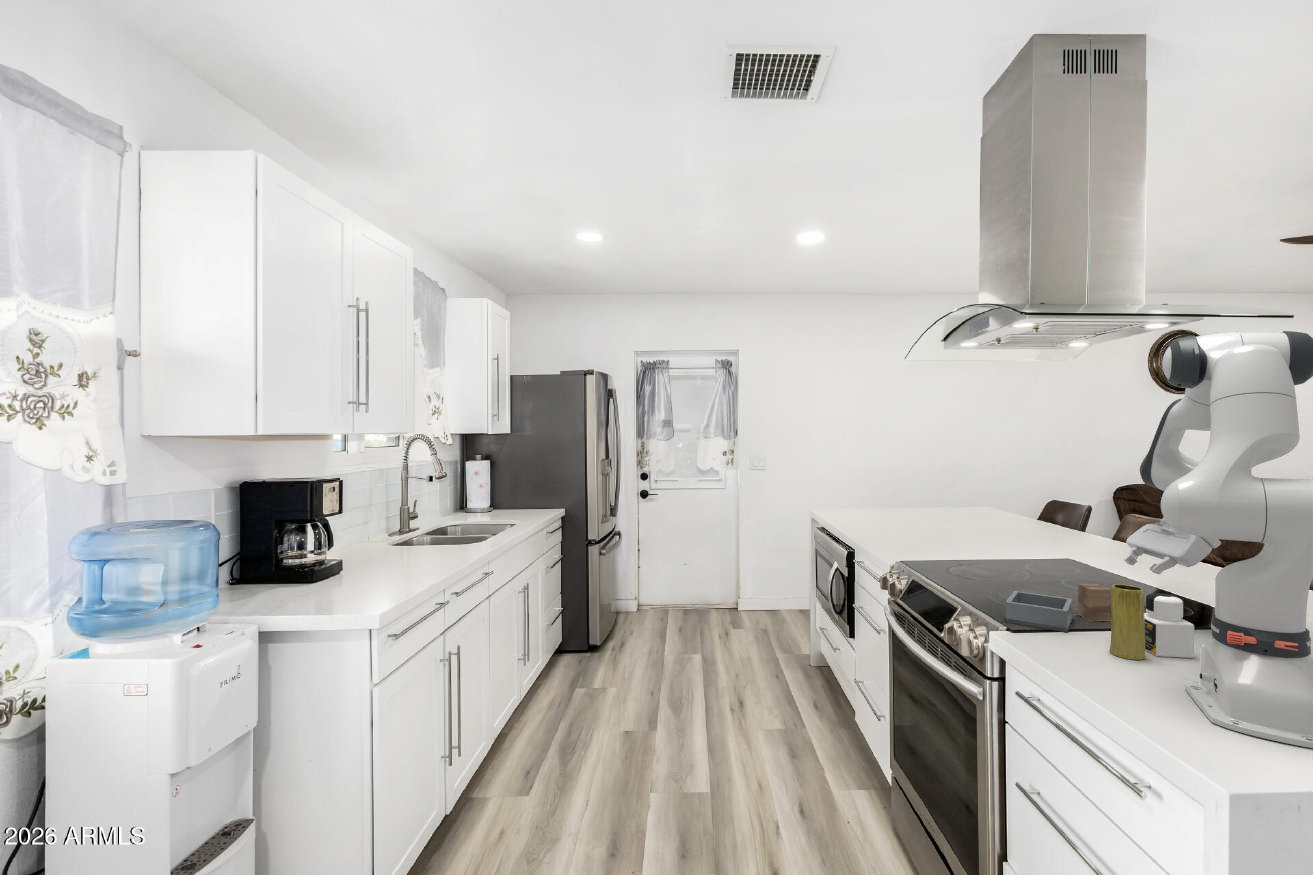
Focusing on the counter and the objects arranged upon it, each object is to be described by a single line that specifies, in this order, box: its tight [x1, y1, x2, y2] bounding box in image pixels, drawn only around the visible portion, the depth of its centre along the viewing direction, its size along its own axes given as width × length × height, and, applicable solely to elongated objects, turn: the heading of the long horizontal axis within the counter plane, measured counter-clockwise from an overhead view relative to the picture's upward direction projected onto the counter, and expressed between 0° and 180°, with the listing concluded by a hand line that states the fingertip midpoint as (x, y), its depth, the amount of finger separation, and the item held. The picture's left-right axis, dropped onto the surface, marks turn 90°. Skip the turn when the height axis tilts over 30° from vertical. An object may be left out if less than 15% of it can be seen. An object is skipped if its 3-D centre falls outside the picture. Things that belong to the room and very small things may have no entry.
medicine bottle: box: [1144, 592, 1195, 659], centre depth 128 cm, size 7×7×12 cm
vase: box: [1109, 583, 1147, 661], centre depth 126 cm, size 6×6×14 cm
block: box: [1077, 583, 1112, 621], centre depth 150 cm, size 5×5×8 cm
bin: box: [1005, 590, 1074, 633], centre depth 149 cm, size 13×13×5 cm
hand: (1140, 567), depth 149 cm, fingers open, 8 cm apart
